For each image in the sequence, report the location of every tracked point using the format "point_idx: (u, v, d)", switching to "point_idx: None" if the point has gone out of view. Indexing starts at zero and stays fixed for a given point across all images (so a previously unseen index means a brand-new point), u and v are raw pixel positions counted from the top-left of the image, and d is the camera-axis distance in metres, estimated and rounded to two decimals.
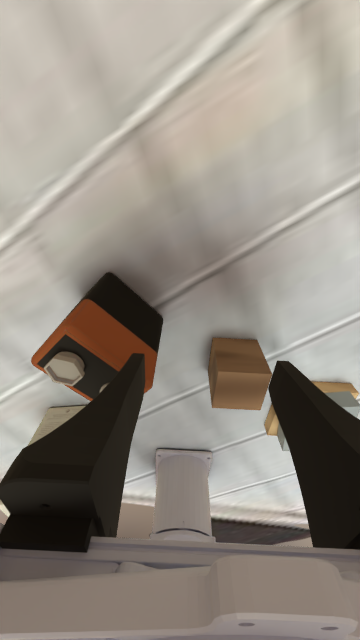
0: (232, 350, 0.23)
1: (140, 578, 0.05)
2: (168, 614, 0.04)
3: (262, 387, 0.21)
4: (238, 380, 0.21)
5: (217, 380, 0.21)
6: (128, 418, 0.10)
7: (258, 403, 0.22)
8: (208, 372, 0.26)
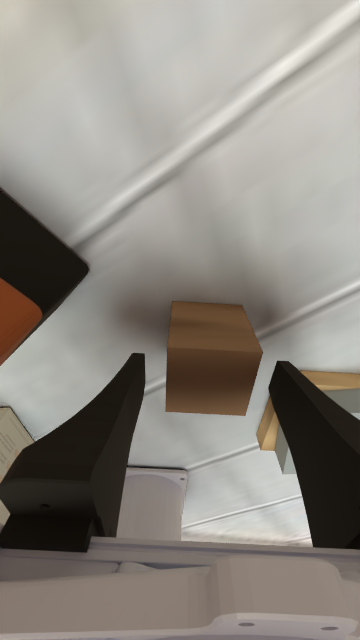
0: (199, 318, 0.14)
1: (140, 578, 0.05)
2: (168, 614, 0.04)
3: (247, 376, 0.12)
4: (205, 363, 0.12)
5: (168, 364, 0.12)
6: (128, 418, 0.10)
7: (241, 403, 0.13)
8: None
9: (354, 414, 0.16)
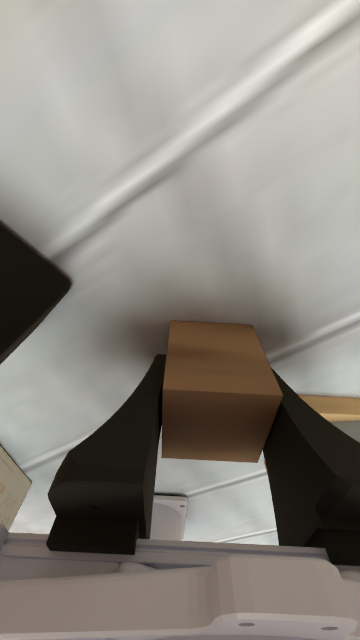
0: (202, 344, 0.12)
1: (140, 578, 0.05)
2: (168, 614, 0.04)
3: (261, 422, 0.10)
4: (210, 407, 0.09)
5: (164, 407, 0.10)
6: (158, 420, 0.10)
7: (253, 450, 0.11)
8: None
9: None
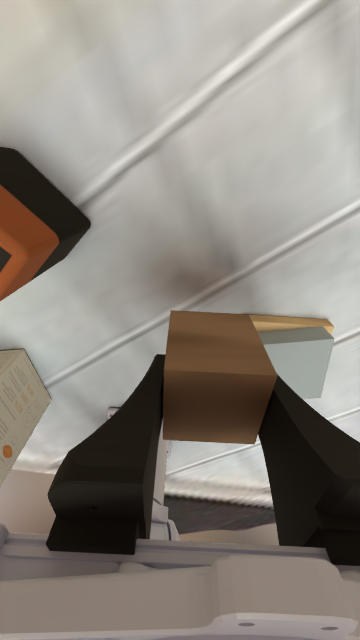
0: (201, 331, 0.12)
1: (140, 578, 0.05)
2: (168, 614, 0.04)
3: (257, 402, 0.10)
4: (208, 388, 0.10)
5: (165, 388, 0.10)
6: (158, 420, 0.10)
7: (250, 431, 0.11)
8: None
9: (294, 343, 0.20)
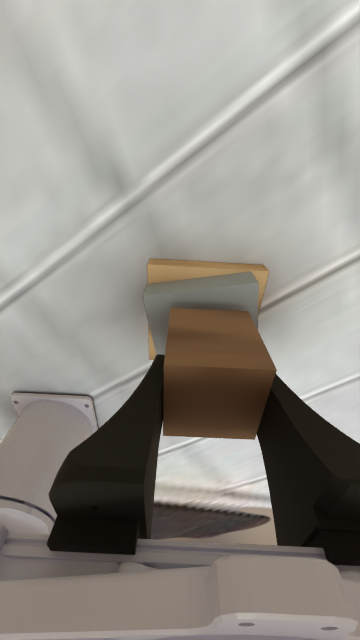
0: (201, 327, 0.12)
1: (140, 578, 0.05)
2: (168, 614, 0.04)
3: (257, 397, 0.10)
4: (208, 383, 0.10)
5: (165, 384, 0.10)
6: (158, 420, 0.10)
7: (250, 426, 0.11)
8: None
9: (204, 291, 0.14)
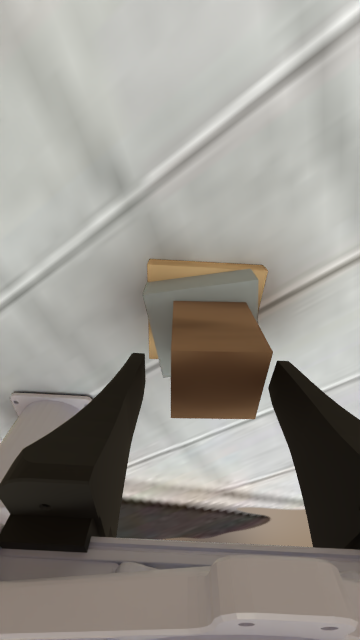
0: (203, 317, 0.13)
1: (140, 578, 0.05)
2: (168, 614, 0.04)
3: (256, 378, 0.11)
4: (211, 366, 0.11)
5: (172, 368, 0.11)
6: (128, 418, 0.10)
7: (251, 406, 0.12)
8: None
9: (204, 288, 0.15)
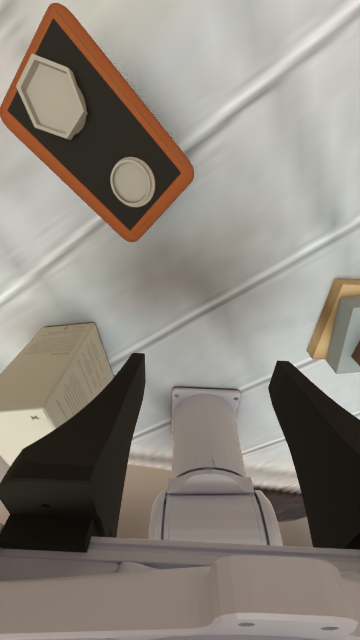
0: None
1: (140, 578, 0.05)
2: (168, 614, 0.04)
3: None
4: None
5: None
6: (128, 418, 0.10)
7: None
8: (355, 358, 0.21)
9: None
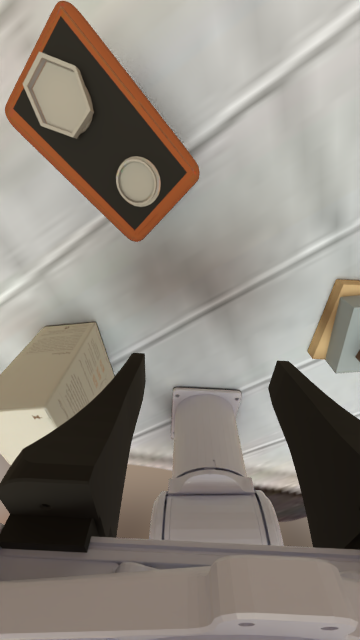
0: None
1: (140, 578, 0.05)
2: (168, 614, 0.04)
3: None
4: None
5: None
6: (128, 418, 0.10)
7: None
8: None
9: None
